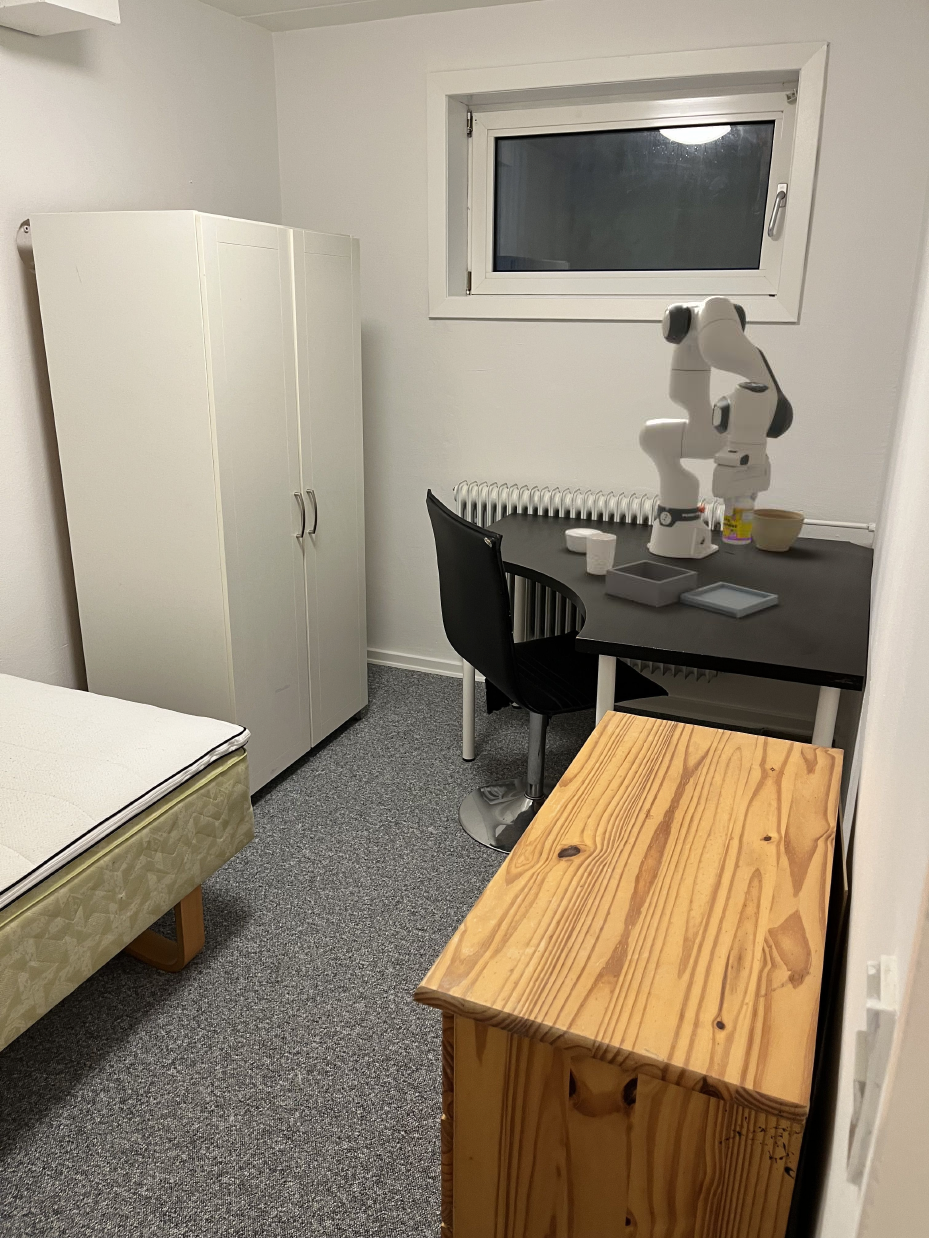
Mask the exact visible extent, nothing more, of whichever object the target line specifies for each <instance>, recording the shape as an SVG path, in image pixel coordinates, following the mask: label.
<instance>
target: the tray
mask: <svg viewBox="0 0 929 1238" xmlns="http://www.w3.org/2000/svg"><path fill="white" fill-rule="evenodd" d="M778 602H779V595H777V594H773V593H768V592H765V591H761V590H756V589H751V588H749V587H744V586H740V585H735V584H732V583H727V582H723V581H719V582H717V583H713V584H710V585H707V586H703V587H700V588H696V590H693V591H690V592H687V593H684V594H681V598H680V600H679V603H683V604H685V605H689V606H692V607H696V608H700V609H703V610H707V611H711V612H716V613H718V614H721V615H727V616H730V617H733V618H738V619H739V618H742V617H744V616H746V615H749V614H752V613H755V612H758V611H761V610H764V609H765V608H769V607H771V606H774V605H778V604H779V603H778Z"/></svg>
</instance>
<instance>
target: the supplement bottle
mask: <svg viewBox="0 0 929 1238" xmlns="http://www.w3.org/2000/svg"><path fill="white" fill-rule="evenodd" d="M751 494H752V489H750V490H746V491H745V494H744V495H742V496H737V497H735V500H734V502H733V506H734V508H736V509H735V514H734V515H732V516H728V515H725V514H724V515H723V527H722V534H721V535H722V537H721V539H722V541H723V543H726V544H729V545H730V544H731V545H735V546H737V545H739V546H740V545H747V544H750V543H751V540H752V525H753V515H754V509H755V503H754V502H753V501H752V500H751V499H750V496H751ZM725 509H726V508H725V507H724V510H725Z"/></svg>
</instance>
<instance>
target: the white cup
mask: <svg viewBox="0 0 929 1238" xmlns="http://www.w3.org/2000/svg"><path fill="white" fill-rule="evenodd" d="M616 543H617V535H615V534H612V533H605V532H602V533H591V534H588V535H587V553H586V572H587V573H589V574H593V575H597V576H598V575H599V576H604V575H605V576H606V570H608V569H611V568H613V564H614V559H615V552H616V545H617V544H616Z"/></svg>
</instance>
